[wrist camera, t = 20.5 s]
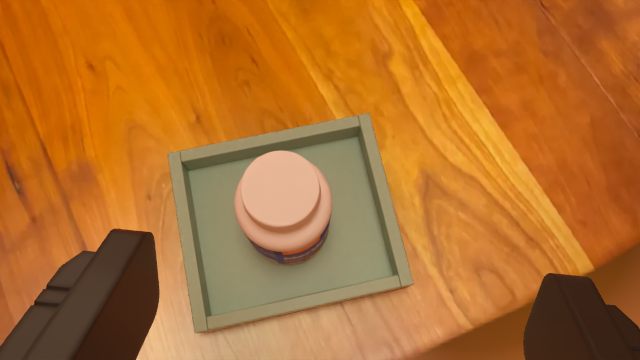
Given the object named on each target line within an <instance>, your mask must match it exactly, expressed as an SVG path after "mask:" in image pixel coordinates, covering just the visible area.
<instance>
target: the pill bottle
mask: <svg viewBox="0 0 640 360" xmlns="http://www.w3.org/2000/svg"><path fill="white" fill-rule="evenodd" d="M234 208H235V214H236V217H237V220H238V223H239V225H240V227H241V229H242V231H243V232H244V234H245V235H246V236H247V238H248V239H249V241H250V242H251V244H252V245H253V247H254V248H255V249H256V251H257V252H258V253H259V254H260V255H262V256H263V257H264V258H265V259H267V260H269V261H271V262H273V263H276V264H280V265H296V264H300V263H303V262H305V261H307V260H309V259H310V258H312V257H313V256H314V255H316V254H317V253H318V252H319V250H320V249H321V248H322V246H323V245H324V243H325V241H326V239H327V236H328V232H329V225H330V218H331V212H332V195H331V190H330V187H329V184H328V182H327V180H326V179H325V177H324V175H323V174H322V173H321V171H320V170H319V169H318V168H317V167H316V166H315V165H313V164H312V163H310V162H309V161H307V160H306V159H305V158H303V157H302V156H300V155H298V154H296V153H293V152H289V151H272V152H269V153H266V154H263V155H261V156H260V157H258V158H256V159H255V160H254V161H253V162H252V163H251V164H250V165H249V166H248V168H247V169H246V171H245V172H244V175H243V177H242V178H241V180H240V182H239V184H238V186H237V189H236V192H235V199H234Z"/></svg>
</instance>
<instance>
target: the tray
mask: <svg viewBox="0 0 640 360" xmlns="http://www.w3.org/2000/svg"><path fill="white" fill-rule="evenodd" d="M272 151H289V152H293V153H296V154H298V155H300V156H302V157H303V158H305V159H306V160H307V161H309V162H310V163H312V164H313V165H315V166H316V167H317V168H318V169H319V170H320V171H321V173H322V174H323V175H324V177H325V179H326V180H327V182H328V184H329V187H330V190H331V195H332V212H331V218H330V225H329V232H328V236H327V239H326V241H325V243H324V245H323V246H322V248H321V249H320V250H319V252H318V253H317V254H316V255H314V256H313V257H312V258H310V259H309V260H307V261H305V262H303V263H300V264H296V265H280V264H276V263H273V262H271V261H269V260H267V259H265V258H264V257H263V256H262V255H260V254H259V253H258V252H257V251H256V249H255V248H254V247H253V245H252V244H251V242H250V241H249V239H248V238H247V236H246V235H245V234H244V232H243V231H242V229H241V227H240V225H239V223H238V220H237V217H236V214H235V208H234V199H235V192H236V189H237V186H238V184H239V182H240V180H241V178H242V177H243V175H244V172H245V171H246V169H247V168H248V166H249V165H250V164H251V163H252V162H253V161H254V160H255V159H256V158H258V157H260V156H261V155H263V154H266V153H269V152H272ZM168 160H169V167H170V173H171V180H172V187H173V193H174V200H175V206H176V213H177V220H178V226H179V233H180V239H181V246H182V253H183V259H184V266H185V272H186V279H187V286H188V292H189V299H190V305H191V312H192V319H193V325H194V332H195V333H205V332H210V331H214V330H219V329H223V328H228V327H232V326H237V325H241V324H245V323H250V322H254V321H259V320H263V319H268V318H272V317H277V316H281V315H286V314H290V313H295V312H299V311H303V310H308V309H312V308H317V307H321V306H326V305H330V304H335V303H339V302H344V301H348V300H353V299H357V298H361V297H366V296H370V295H375V294H379V293H384V292H388V291H393V290H397V289H402V288H406V287H409V286H411V285H413V284H414V283H413V279H412V275H411V271H410V267H409V264H408V260H407V256H406V252H405V248H404V244H403V241H402V237H401V233H400V229H399V225H398V221H397V218H396V214H395V210H394V206H393V202H392V198H391V194H390V191H389V187H388V183H387V179H386V175H385V171H384V168H383V164H382V160H381V156H380V152H379V148H378V145H377V141H376V137H375V133H374V129H373V125H372V121H371V118H370V114H369V113H366V114H361V115H358V116H352V117H347V118H342V119H337V120H332V121H327V122H322V123H317V124H312V125H307V126H302V127H297V128H292V129H287V130H282V131H277V132H272V133H267V134H262V135H257V136H252V137H247V138H242V139H237V140H232V141H227V142H222V143H217V144H212V145H207V146H202V147H197V148H192V149H187V150H182V151H176V152H171V153H168Z"/></svg>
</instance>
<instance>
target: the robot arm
mask: <svg viewBox="0 0 640 360" xmlns="http://www.w3.org/2000/svg"><path fill="white" fill-rule="evenodd" d="M34 302H35V303H34V305H31V306H30V308H29V309H28V310H27V312H26V313H25V314H24V316H23V317H22V318H21V320H20V321H19V322H18V324H17V325H16V326H15V328H14V329H13V330H12V332H11V333H10V334H9V335H8V337H7V338H6V339H5V341H4V342H3V343H2V345H1V346H0V360H136V358H137V356H138V353H139V351H140V349H141V347H142V345H143V343H144V340H145V338H146V336H147V334H148V332H149V329H150V327H151V325H152V323H153V321H154V318H155V315H156V312H157V308H158V303H159V280H158V270H157V260H156V250H155V241H154V236H153V234H152V233H151V232H143V231H133V230H123V229H113V230H111V231H110V233H109V234H108V235H107V237H106V238H105V240H104V241H103V242H102V244H101V245H100V247H99V248H98V250H97V251H96V252H91V251H83V252H81V253H80V254H78V255H77V256H75V257H74V258H72V259H71V260H69V261H68V262H66V263H65V264H63V265H62V266H61V267H60V268H59V270H58V271H57V272H56V273H55V275H54V276H53V277H52V279H51V280H50V281H49V283H48V284H47V287H46V289H43V291H42V292H41V293H40V295H39V296H38V297H37V299H36V300H35V301H34ZM523 346H524V355H525V359H526V360H640V329H639V327H638V326H637V325H636V324H635V323H634V322H633V321H632V320H631V319H629V318H628V317H627V316H626V315H625V314H624V313H623V312H622V311H621V310H620V309H618V308H617V307H616V306H615V305H606V304H605V302H604V301H603V299H602V297H601V295H600V294H599V292H598V290H597V288H596V286H595V285H594V283H593V281H592V280H591V279H590V278H588V277H583V276H573V275H563V274H553V273H549V274H547V275H546V276H545V277H544V279H543V281H542V283H541V286H540V289H539V292H538V294H537V297H536V300H535V303H534V305H533V308H532V311H531V313H530V316H529V319H528V322H527V324H526V327H525V331H524V340H523Z"/></svg>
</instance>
